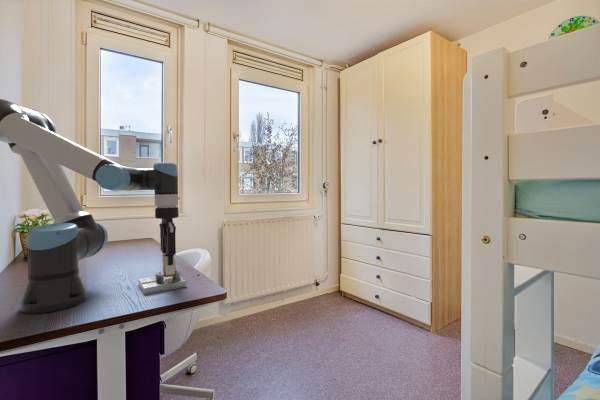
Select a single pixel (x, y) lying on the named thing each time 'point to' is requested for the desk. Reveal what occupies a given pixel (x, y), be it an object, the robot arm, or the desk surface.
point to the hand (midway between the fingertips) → (168, 272)
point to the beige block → (165, 269)
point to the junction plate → (161, 283)
